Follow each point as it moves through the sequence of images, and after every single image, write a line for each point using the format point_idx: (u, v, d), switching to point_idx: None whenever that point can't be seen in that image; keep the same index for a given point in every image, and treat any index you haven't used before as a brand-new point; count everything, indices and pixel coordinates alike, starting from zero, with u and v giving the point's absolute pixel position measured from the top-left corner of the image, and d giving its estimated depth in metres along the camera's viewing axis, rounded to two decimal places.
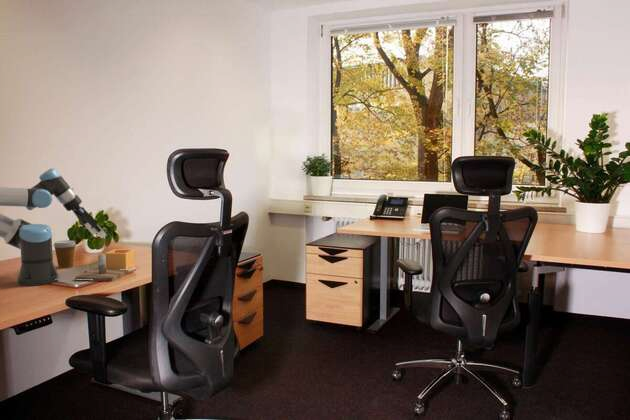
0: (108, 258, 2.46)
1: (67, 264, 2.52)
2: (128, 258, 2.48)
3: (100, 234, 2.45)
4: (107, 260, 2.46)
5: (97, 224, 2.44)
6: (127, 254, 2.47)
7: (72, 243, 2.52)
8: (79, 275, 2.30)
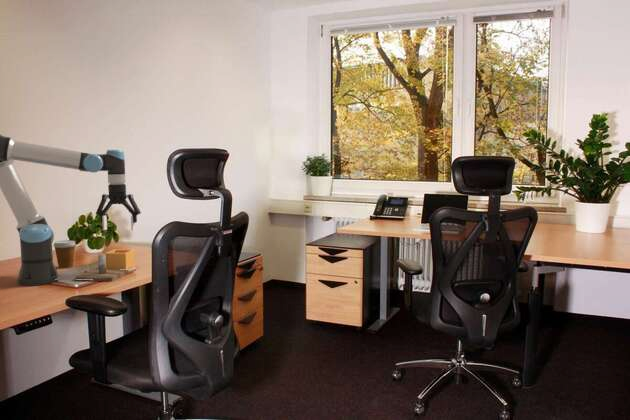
0: (108, 258, 2.46)
1: (67, 264, 2.52)
2: (128, 258, 2.48)
3: (133, 225, 2.48)
4: (107, 260, 2.46)
5: None
6: (127, 254, 2.47)
7: (72, 243, 2.52)
8: (79, 275, 2.30)
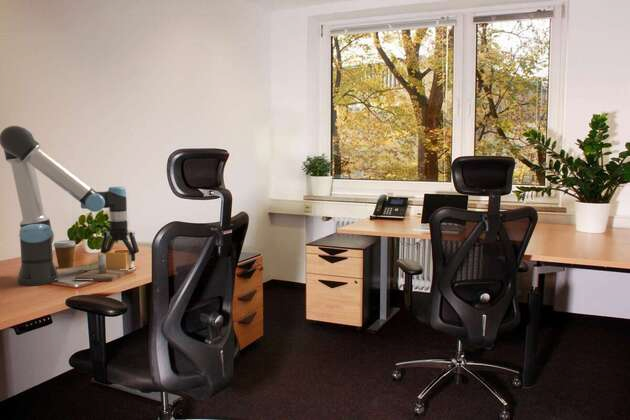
0: (108, 258, 2.46)
1: (67, 264, 2.52)
2: (128, 258, 2.48)
3: (131, 264, 2.49)
4: (107, 260, 2.46)
5: None
6: (127, 254, 2.47)
7: (72, 243, 2.52)
8: (79, 275, 2.30)
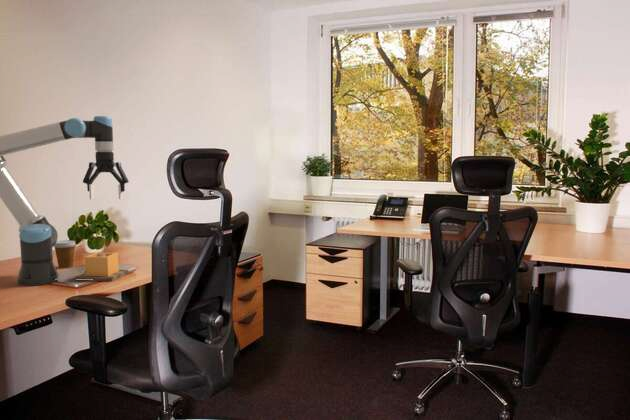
0: (89, 262, 2.29)
1: (67, 264, 2.52)
2: (111, 262, 2.31)
3: (121, 194, 2.42)
4: (88, 264, 2.29)
5: None
6: (109, 258, 2.30)
7: (72, 243, 2.52)
8: (79, 275, 2.30)
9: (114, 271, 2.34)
